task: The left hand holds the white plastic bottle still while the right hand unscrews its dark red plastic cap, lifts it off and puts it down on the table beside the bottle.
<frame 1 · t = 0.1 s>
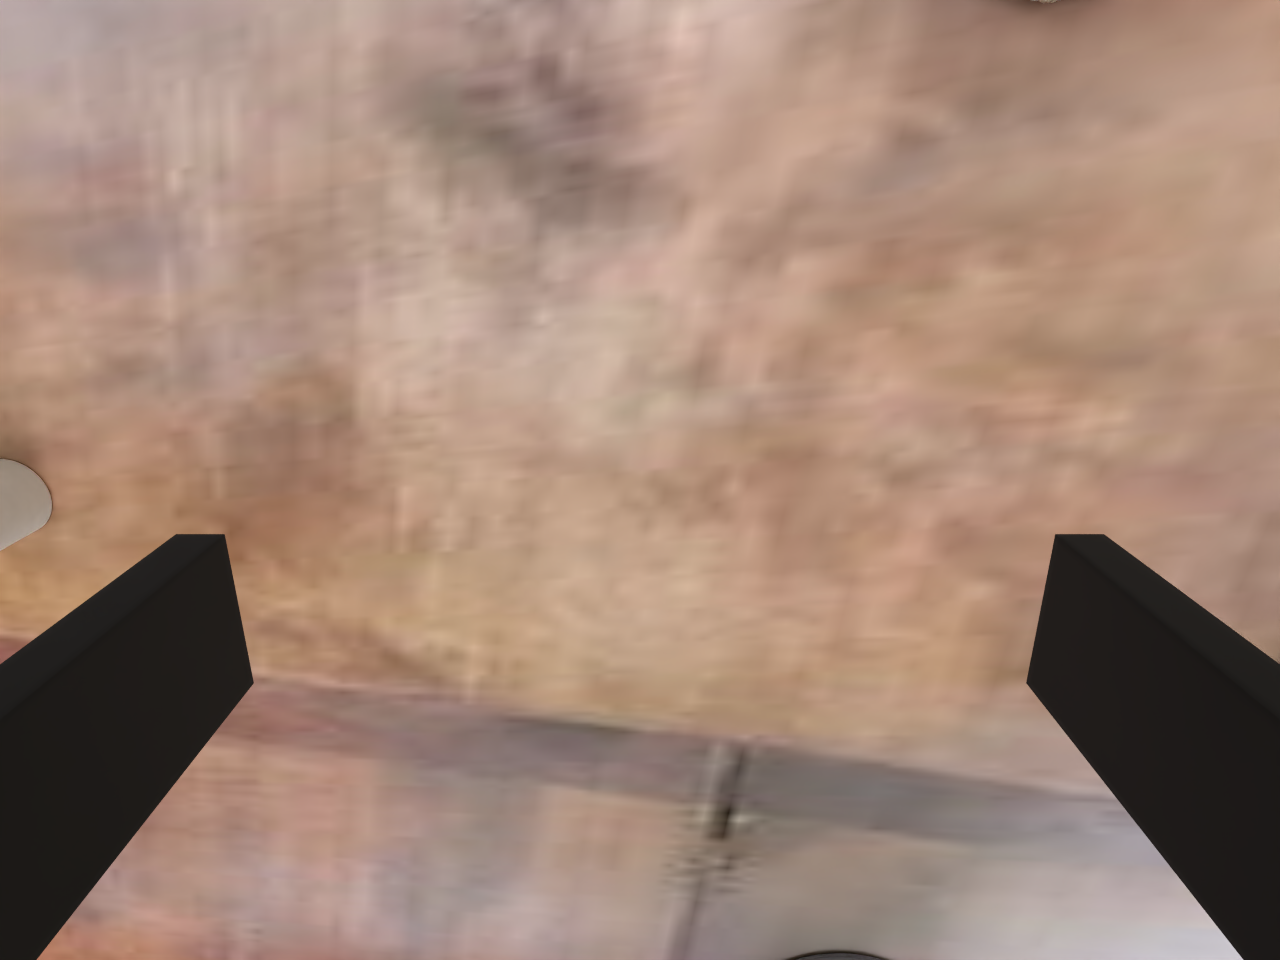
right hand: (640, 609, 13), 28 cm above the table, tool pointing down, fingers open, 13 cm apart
bottle: (11, 496, 42), on the table
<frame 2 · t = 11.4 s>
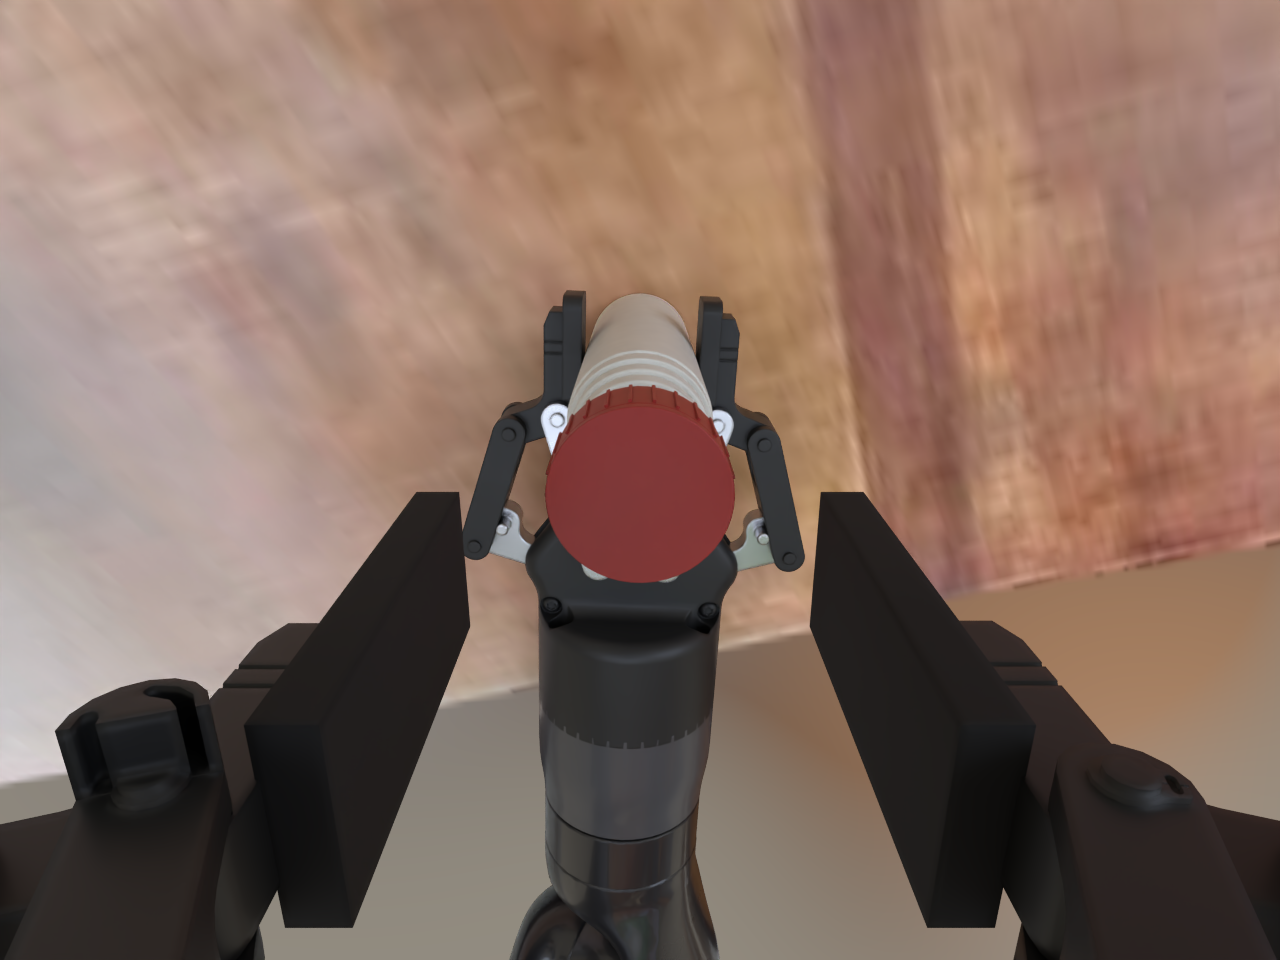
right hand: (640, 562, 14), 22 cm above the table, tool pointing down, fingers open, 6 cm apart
left hand: (642, 298, 29), fingers closed on bottle, 4 cm apart
cap: (640, 493, 18), point 19 cm above the table, screwed on, not yet turned
bottle: (639, 341, 36), on the table, touching left hand
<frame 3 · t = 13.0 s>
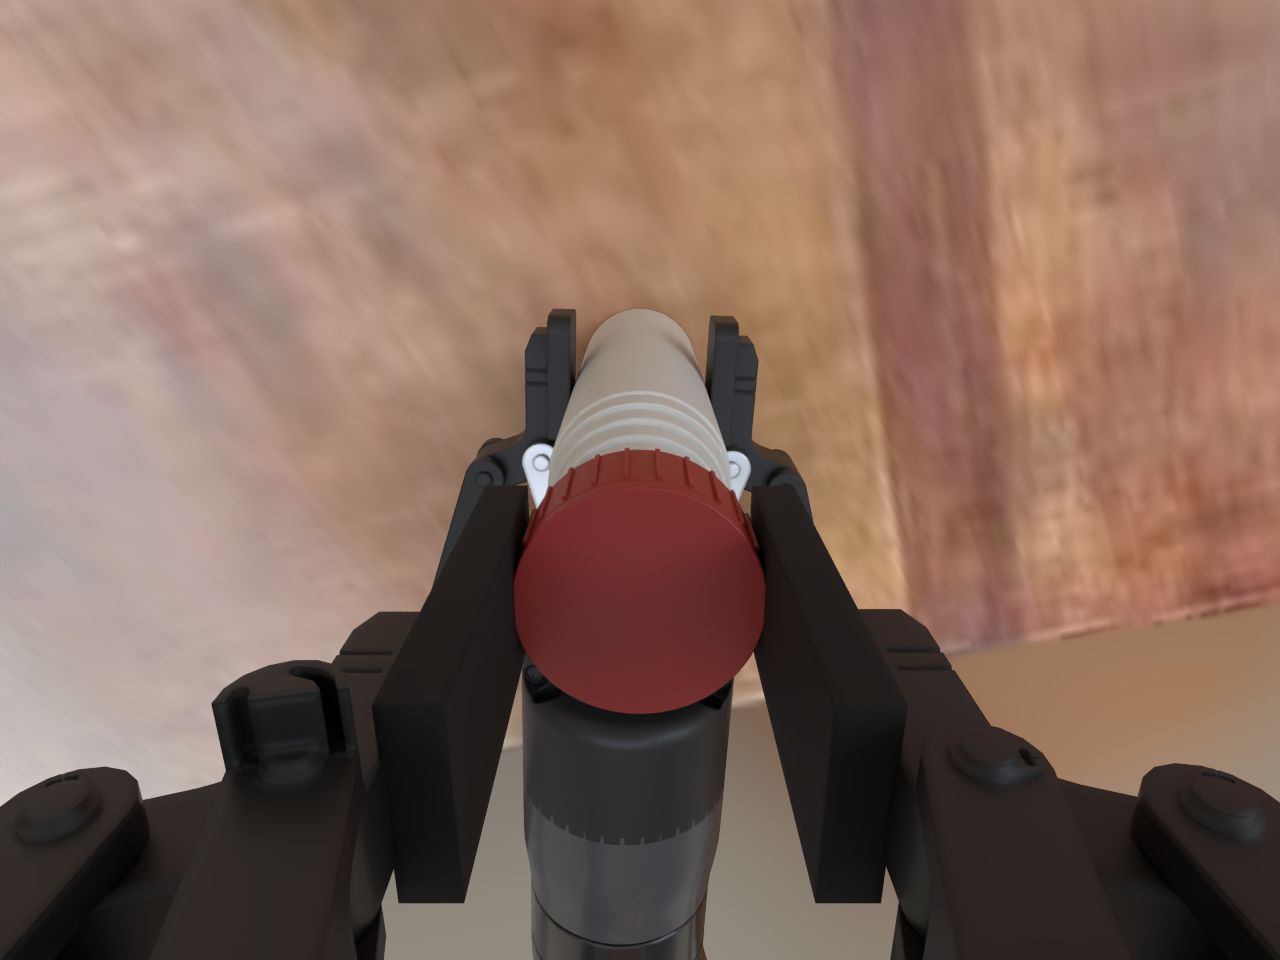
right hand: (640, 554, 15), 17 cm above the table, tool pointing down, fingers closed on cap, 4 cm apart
left hand: (642, 318, 24), fingers closed on bottle, 4 cm apart
cap: (639, 598, 13), point 19 cm above the table, screwed on, not yet turned, touching right hand
bottle: (639, 363, 31), on the table, touching left hand
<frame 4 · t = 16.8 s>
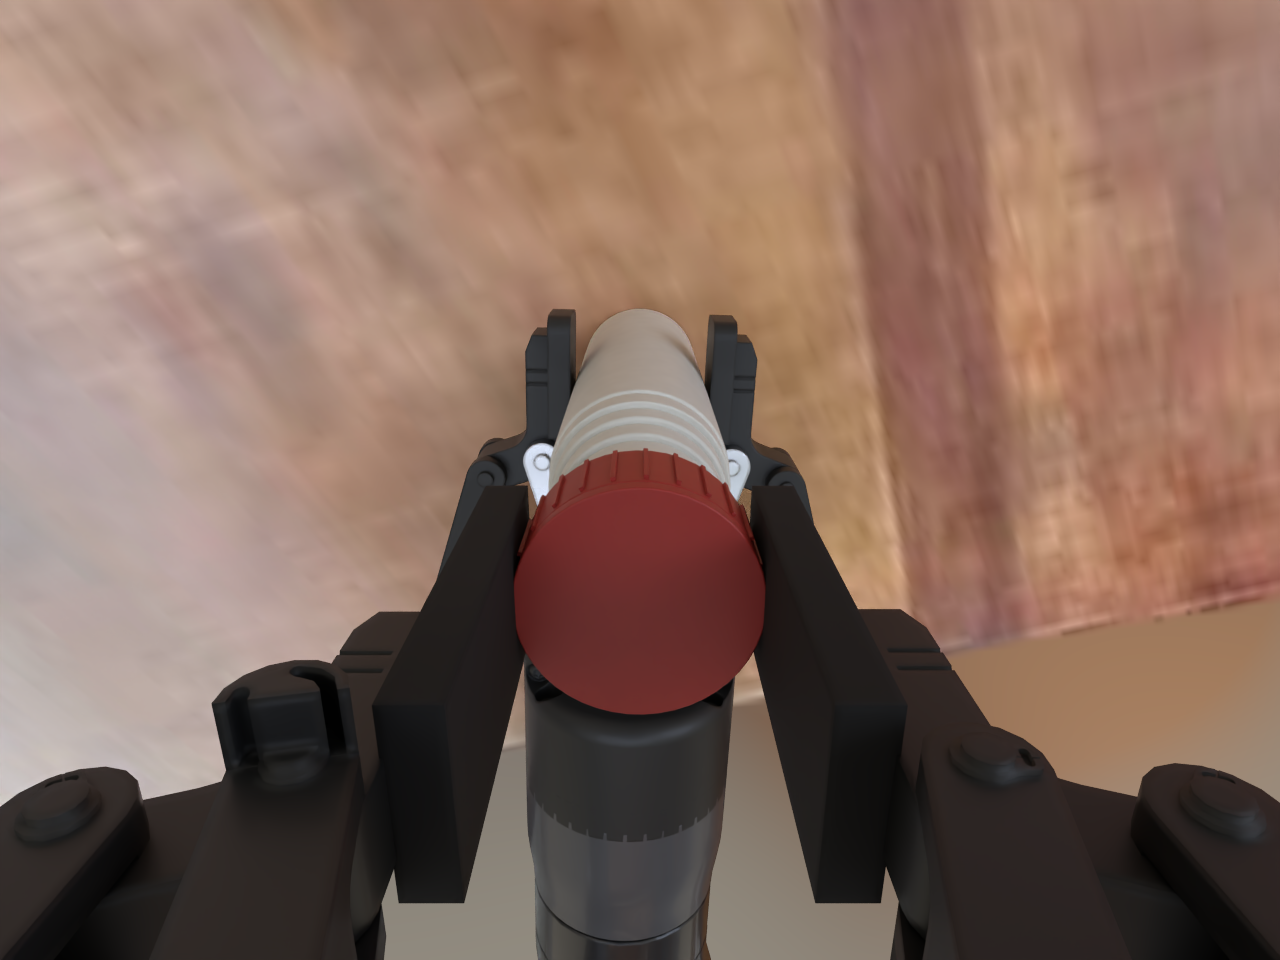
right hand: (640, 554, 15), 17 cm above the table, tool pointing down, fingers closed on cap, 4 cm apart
left hand: (641, 318, 24), fingers closed on bottle, 4 cm apart
cap: (639, 598, 13), point 19 cm above the table, turned 135° so far, risen 0.2 cm, still on its thread, touching right hand
bottle: (639, 363, 31), on the table, touching left hand
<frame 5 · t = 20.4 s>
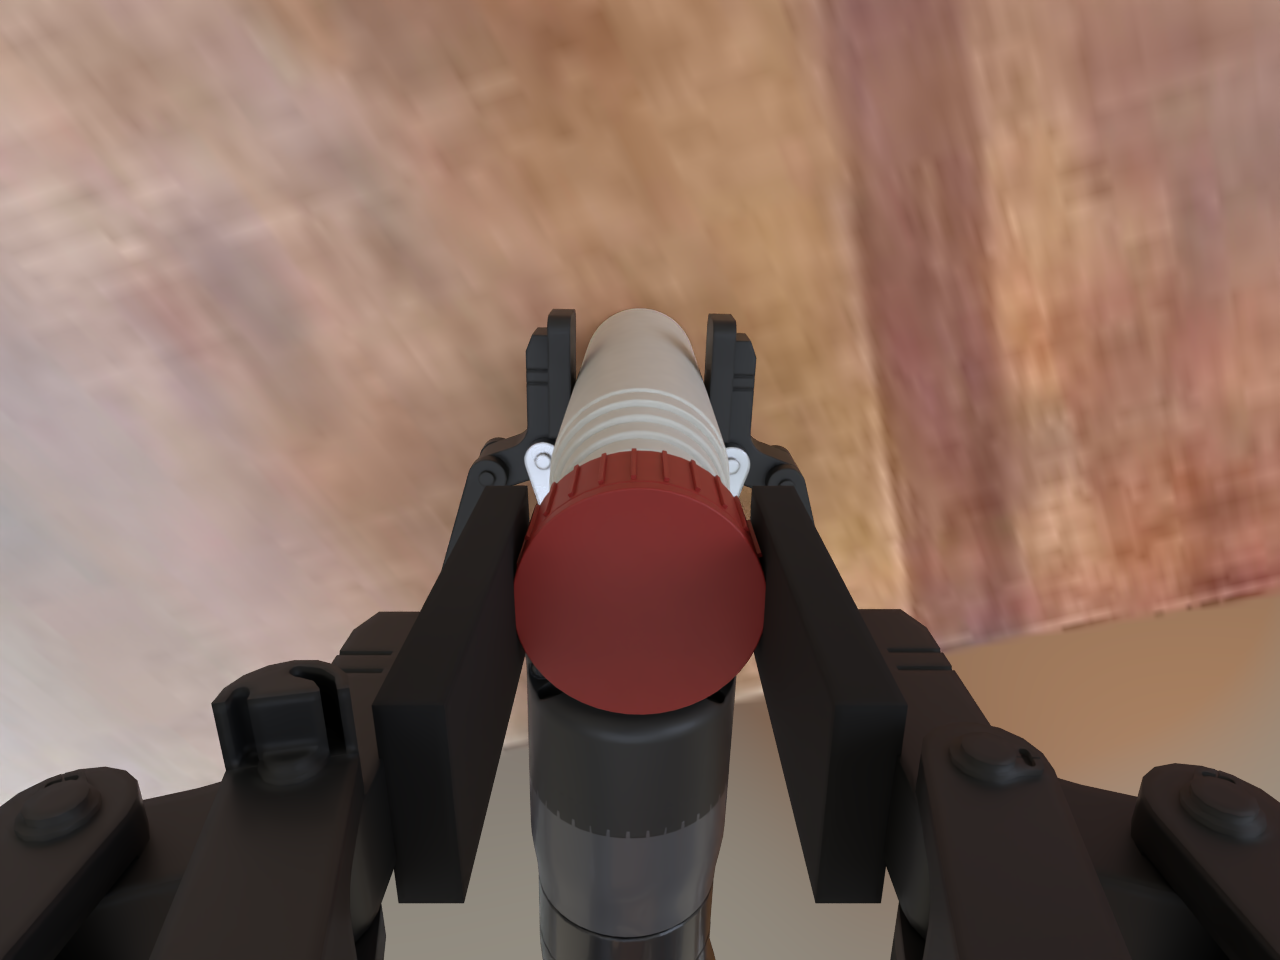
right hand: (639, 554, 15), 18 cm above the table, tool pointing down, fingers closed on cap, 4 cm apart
left hand: (641, 317, 24), fingers closed on bottle, 4 cm apart
cap: (639, 599, 13), point 19 cm above the table, turned 270° so far, risen 0.3 cm, still on its thread, touching right hand
bottle: (639, 362, 31), on the table, touching left hand
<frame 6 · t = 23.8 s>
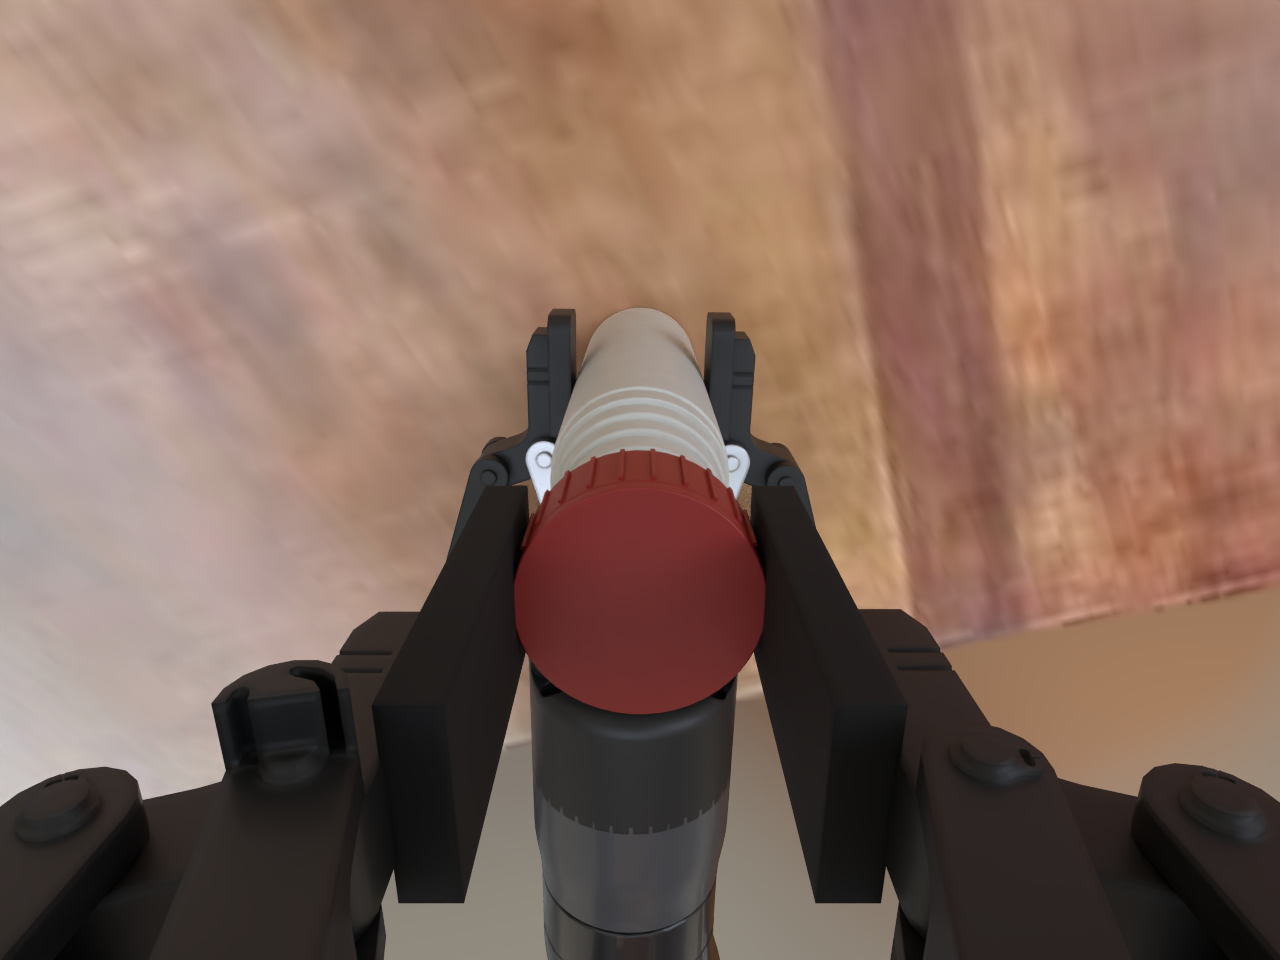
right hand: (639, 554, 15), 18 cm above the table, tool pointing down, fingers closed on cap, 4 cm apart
left hand: (640, 316, 25), fingers closed on bottle, 4 cm apart
cap: (639, 598, 13), point 19 cm above the table, turned 404° so far, risen 0.5 cm, still on its thread, touching right hand
bottle: (639, 361, 31), on the table, touching left hand
when the right hand's fingers open (1 cm above the table, at t = 30.2 s): cap stays where it is, point 2 cm above the table.
when the left hand's fingers open (6 cm above the table, at t = 31.5 s): bottle stays where it is, on the table.
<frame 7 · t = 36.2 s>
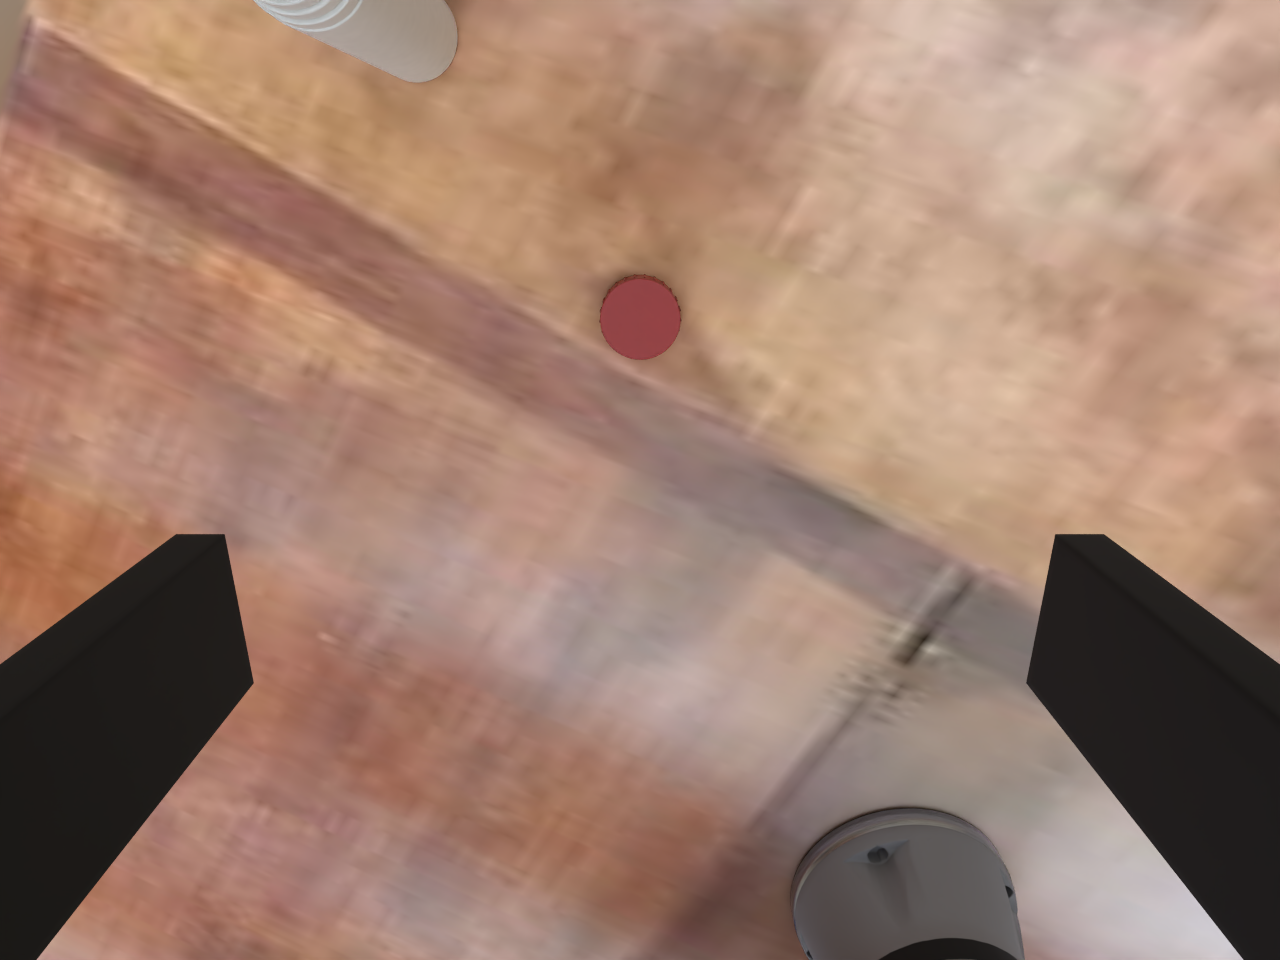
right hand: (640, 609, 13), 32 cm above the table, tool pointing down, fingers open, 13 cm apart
cap: (640, 319, 41), point 2 cm above the table, off its thread
bottle: (413, 33, 38), on the table
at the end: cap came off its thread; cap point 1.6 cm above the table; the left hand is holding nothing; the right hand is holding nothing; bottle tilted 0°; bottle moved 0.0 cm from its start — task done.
